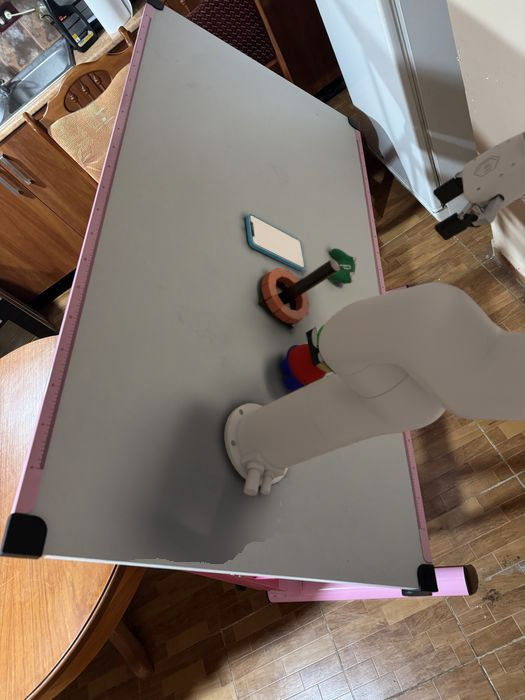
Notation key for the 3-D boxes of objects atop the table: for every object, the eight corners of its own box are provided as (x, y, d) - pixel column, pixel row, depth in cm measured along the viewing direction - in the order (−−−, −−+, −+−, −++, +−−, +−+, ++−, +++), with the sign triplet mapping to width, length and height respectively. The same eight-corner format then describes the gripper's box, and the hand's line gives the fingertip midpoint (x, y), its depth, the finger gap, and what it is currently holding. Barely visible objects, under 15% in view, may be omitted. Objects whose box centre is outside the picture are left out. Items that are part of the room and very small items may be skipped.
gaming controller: (323, 285, 120) (351, 289, 119) (325, 271, 117) (353, 275, 116) (330, 260, 126) (356, 263, 125) (331, 246, 124) (358, 249, 123)
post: (290, 329, 102) (348, 295, 94) (258, 304, 99) (316, 265, 90) (296, 299, 108) (352, 264, 99) (266, 274, 104) (321, 235, 95)
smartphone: (306, 270, 113) (252, 243, 103) (302, 273, 113) (247, 247, 103) (301, 240, 116) (248, 211, 106) (296, 243, 117) (243, 215, 107)
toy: (303, 407, 96) (372, 376, 86) (266, 388, 91) (335, 353, 82) (304, 364, 101) (369, 330, 92) (269, 343, 97) (334, 305, 87)
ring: (299, 333, 102) (306, 329, 101) (257, 302, 97) (264, 297, 96) (305, 294, 109) (311, 289, 107) (266, 262, 104) (273, 257, 103)
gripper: (521, 103, 84) (424, 171, 95) (538, 164, 73) (425, 232, 83) (547, 139, 87) (449, 200, 98) (566, 202, 76) (454, 263, 87)
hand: (438, 215), depth 91 cm, fingers open, 9 cm apart
